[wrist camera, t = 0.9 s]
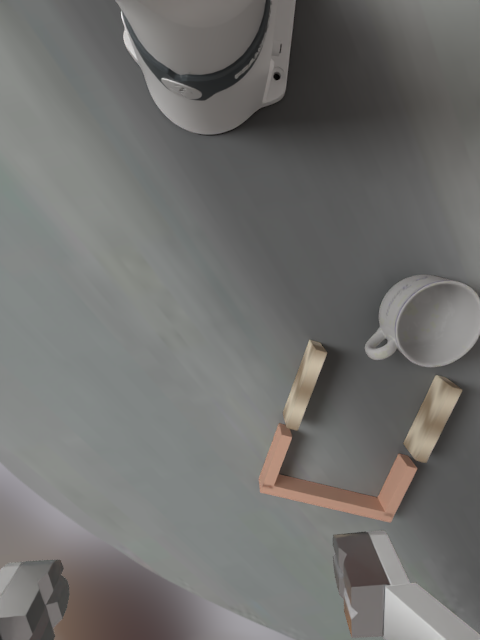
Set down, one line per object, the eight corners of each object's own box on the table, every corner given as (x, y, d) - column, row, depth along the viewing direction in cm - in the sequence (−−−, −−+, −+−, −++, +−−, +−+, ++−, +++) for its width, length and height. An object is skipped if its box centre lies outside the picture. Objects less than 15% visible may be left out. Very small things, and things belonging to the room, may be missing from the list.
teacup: (440, 259, 48) (479, 267, 41) (454, 332, 51) (493, 352, 44) (339, 293, 49) (359, 308, 42) (359, 363, 52) (381, 388, 45)
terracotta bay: (279, 423, 55) (281, 434, 52) (408, 455, 57) (417, 468, 54) (258, 478, 57) (260, 492, 54) (383, 507, 59) (390, 522, 56)
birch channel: (309, 339, 51) (315, 349, 47) (446, 377, 53) (462, 390, 49) (282, 412, 54) (286, 427, 50) (412, 446, 56) (426, 462, 52)
